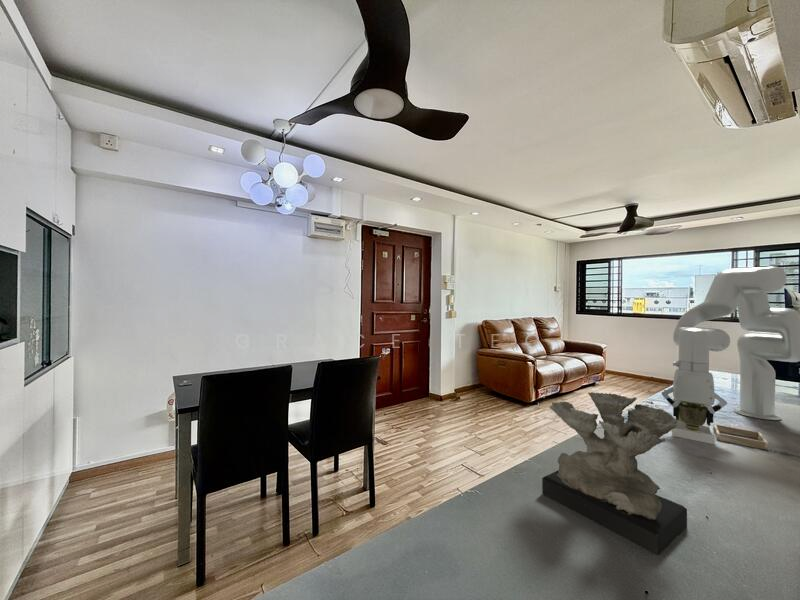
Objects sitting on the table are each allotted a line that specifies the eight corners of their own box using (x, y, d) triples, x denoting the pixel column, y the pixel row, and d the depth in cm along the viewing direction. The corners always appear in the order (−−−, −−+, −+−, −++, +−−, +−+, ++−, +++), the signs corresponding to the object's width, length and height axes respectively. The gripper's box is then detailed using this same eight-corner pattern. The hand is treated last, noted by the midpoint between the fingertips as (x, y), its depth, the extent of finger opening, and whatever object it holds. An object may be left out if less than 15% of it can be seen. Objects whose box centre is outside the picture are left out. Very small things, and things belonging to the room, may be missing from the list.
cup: (698, 426, 113) (698, 402, 113) (713, 434, 106) (714, 409, 106) (672, 424, 115) (673, 400, 115) (686, 432, 107) (686, 407, 108)
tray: (672, 427, 117) (672, 419, 117) (711, 434, 111) (711, 427, 111) (672, 435, 109) (672, 428, 109) (714, 444, 103) (714, 436, 103)
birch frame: (713, 429, 116) (713, 423, 116) (760, 438, 109) (760, 432, 109) (717, 439, 107) (717, 433, 107) (767, 449, 100) (768, 442, 100)
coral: (527, 486, 78) (529, 392, 78) (578, 464, 88) (580, 382, 88) (655, 557, 56) (658, 428, 56) (701, 518, 67) (703, 409, 67)
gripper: (659, 365, 113) (658, 418, 113) (732, 372, 102) (731, 431, 102) (659, 362, 119) (659, 413, 119) (728, 369, 108) (727, 425, 108)
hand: (692, 421), depth 110 cm, fingers closed on cup, 7 cm apart
